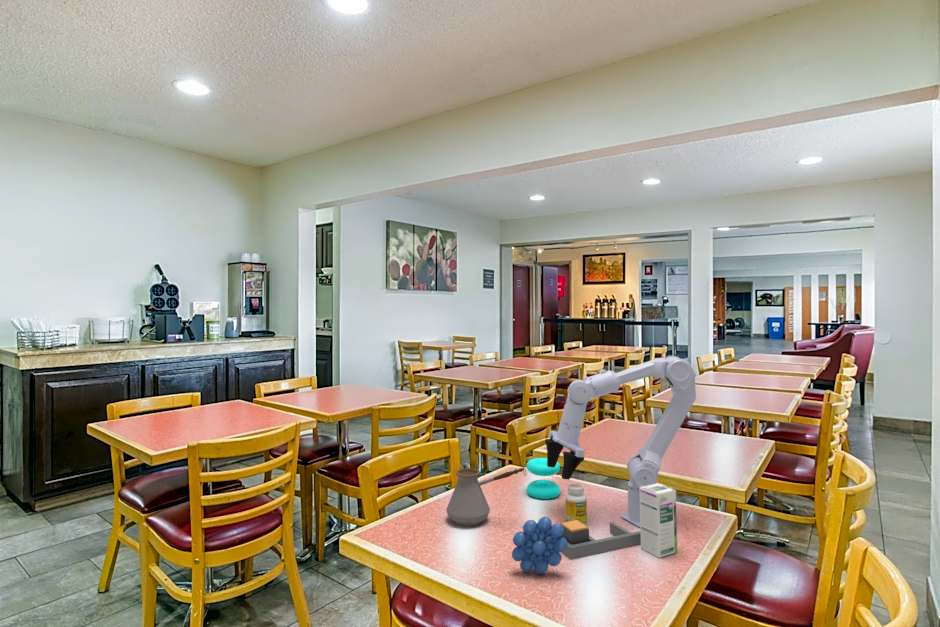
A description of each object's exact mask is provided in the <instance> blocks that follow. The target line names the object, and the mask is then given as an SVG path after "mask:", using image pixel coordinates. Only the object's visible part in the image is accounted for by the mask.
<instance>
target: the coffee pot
mask: <svg viewBox="0 0 940 627" xmlns="http://www.w3.org/2000/svg"><path fill="white" fill-rule="evenodd" d="M526 470H527V469H525V467H520V468H518V469H516V468H515V469H514V470H511V471H506V472H504V473H501V474H498V475H496V476H494V477H492V478H488V479H485V480H482V481H479V480H478V478H479V475H480V474H481V471H480V470H479V469H477V468H472V467H469V468H467V467H466V468H459V469H457V470H456V471H455V475H456V476H457V479H458V480H457V481H456V485H455V487H454V490H453V492H452V495H451V497H450V499H449V502H448V504H447V506H446V514H447V515H448V517H449V518H450V519H451V521H453V523H454V524H456V525H458V524H459V526H462V525H466V526H465V527H472V526H471V525H474V526H478V525H480V524H482V523H483V521H484V520H485V519H487V517H488V516H489V514H490V512H491V508H490V505H489V504H488V501H487V498H486V497H485V493H484V492H483V489H482V487H481V486H484V485H485V484H486V485H487V484H489V483H491V482H494V481H498V480H502V479H505V478H506V479H507V478H509V477H510V476H511V477H512V476H513V475H518V474H519V473H523V476H525V477H527V475H528V473H527V471H526ZM481 522H482V523H481ZM479 523H480V524H479ZM477 524H478V525H477Z"/></svg>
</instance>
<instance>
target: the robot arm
mask: <svg viewBox="0 0 940 627" xmlns="http://www.w3.org/2000/svg"><path fill="white" fill-rule="evenodd" d="M691 364H692V363H690V362H689V361H688V360H686V359H685V358H684V359H683V358H680V357H678V356H676V355H667V356H666V357H659V358H655V359H652V360H648V361H646V362H642V363H640V364H638V365H634V366H632V367H629V368H626V369H624V370H621V371H619V372H616V371H615V372H614V371H612V370H606V369H604V368H603V369H601V370H599V371H600V372H599V373H597V374H593V375H590V376H587V375H586V376H583V377H582V378H583V380H582V379H576V380H575V379H574V380H573V381H572V382H571V383H570V384H569V386H567V392H568V396H567V398H566V400H565V404H564V406H563V409H562V410H563V411H562V414H561V418H560V421H559V426H558V429H557V431H556V430H551V429H550V430H549V433H548V438H549V439H548V438H547V439H545V440H544V443H545V446H546V454H547V455H546V456H547V457H546V458H547V466H548V467H555V466H556V463H557V462H558V460H559V457H560V455H561V452H562V454H563V455H562V456H563V466H562V471H561V479H562V480H571V477H572V476H573V474H574V472H575V470H576V469H577V467H578V466H579V465H580V464H581V463H582V462H583V461H585V456H584V455H585V452H586V451H585V449H584V448H582V446H581V445H580V443H579V437H580V434H581V431H582V426H583V424H584V419H585V416H586V412H587V411H586V408H587V405H588V402H590V401H591V399H592V398H593V399H596V398H600V397H602V396H605V395H609V394H611V393H615V392H618V391H619V389H620V386H621V385H624V384H628V383H630V382H636V381H638V380H641V379H646V378H649V377H654V378H658V379H664V380H666V381H667V382H668V384H669V387H670V389H671V390H670V391H671V392H672V397H671V399H670V401H669V402H668V404H667V405H666V407H665V409H664V411H663V412H662V414H661V416H660V418H659V420H658V422H657V423H656V425H655V427H654V428H653V431H652V433H651V434H650V436H649V438H648V440H647V441H646V443H645V445H644V446H643V447H642V448H641V449H639V450H638V452H637V454H636V455H634V456H633V457H632V458H630V459H629V461H628V463H627V464H626V465H627V467H626V468H627V472H628V474H629V476H630V478H629V480H628V481H627V513H624V514H623V513H622V514H620V517H621V518H623V519H624V520H626V521H628V522H630V523H632V524H633V525H635V526H636V527H638V528H640V490H639V488H640V487H644V486H648V485H653V484H656V483H658V480H659V478H658V475H659V473H660V472H659V471H660V469H661V467H662V461H663V457H664V456H665V454H666V452H667V450H668V448H669V447H670V445H671V443H672V442H673V440H674V438H675V436H676V435H677V432H678V431H679V429H680V428H681V426H682V424H683V422H684V420H685V419H686V418H687V416H688V413H689V412H690V410H691V408H692V407H693V404H694V403H695V401H696V398H697V392H696V390H697V389H696V375H697V374H696V371H695V370H694V368H693V366H692V365H691ZM564 448H566V449H567V450H568V451H563V449H564Z"/></svg>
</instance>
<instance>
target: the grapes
mask: <svg viewBox="0 0 940 627" xmlns="http://www.w3.org/2000/svg"><path fill="white" fill-rule="evenodd" d="M552 522H553V521H552V520H551V518H550V517H548V516H543V517H540V518H539V519H538V521H535V520H533V519H528V520H527V521H525V522H524V524H523V526H522V531H518V532H515V533H514V535H513V537H512V542H513V544H514V545H515V547H514V548H513V550H512V552H511V558H512V559H513V560H514V562H515V561H516V562H520V563H519V568H520V569H521V571H522V572H523V573H530V572H531V571H532V570H534V571H535V573H536V574H538V575H543V574H545V573H546V572H547V571H548V569H549V566H551V567H557V566H558V565H560V564H561V561H562V557H563V556H562V554H561V553H562V552H563V551H564V550H566V548H567V545H568V543H567V540H566V539H565V538H564V537H561V536H562V534H563V532H564V528H563V526H562V525H561V523H558V522H557V523H554V524H553V523H552Z"/></svg>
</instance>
